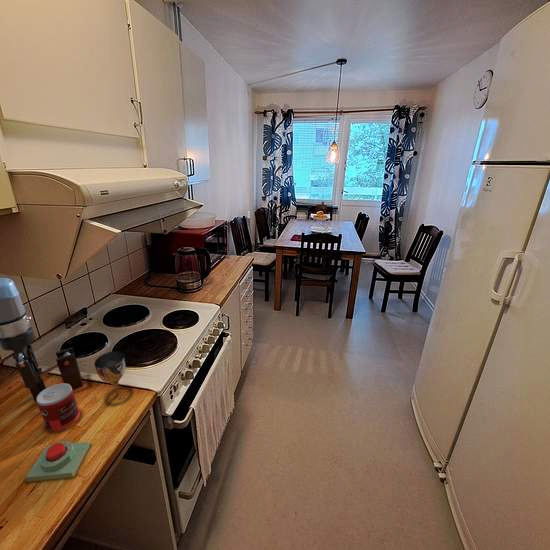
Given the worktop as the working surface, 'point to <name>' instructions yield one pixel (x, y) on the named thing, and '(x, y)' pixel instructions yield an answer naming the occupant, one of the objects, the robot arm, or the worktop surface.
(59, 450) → the button
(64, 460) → the button box
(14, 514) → the worktop surface
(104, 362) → the wine glass
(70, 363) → the dark brown boxy piece
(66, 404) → the canned food
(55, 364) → the lever
